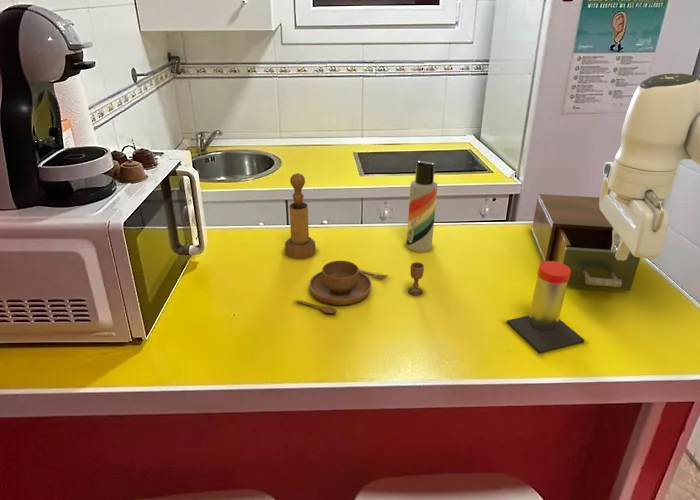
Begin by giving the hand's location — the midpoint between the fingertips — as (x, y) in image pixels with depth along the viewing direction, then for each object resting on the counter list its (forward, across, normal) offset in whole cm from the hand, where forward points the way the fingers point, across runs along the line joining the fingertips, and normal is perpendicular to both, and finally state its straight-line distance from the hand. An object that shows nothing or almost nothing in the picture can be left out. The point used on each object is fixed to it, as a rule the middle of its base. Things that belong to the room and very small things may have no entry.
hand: (618, 256), depth 89 cm
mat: (+12, -8, +12) cm, 18 cm away
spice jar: (+11, -6, +12) cm, 17 cm away
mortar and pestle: (+12, +14, +60) cm, 62 cm away
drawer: (+10, +13, 0) cm, 16 cm away
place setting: (+12, -2, +45) cm, 46 cm away
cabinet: (+11, +25, 0) cm, 28 cm away
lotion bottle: (+12, +21, +34) cm, 41 cm away
